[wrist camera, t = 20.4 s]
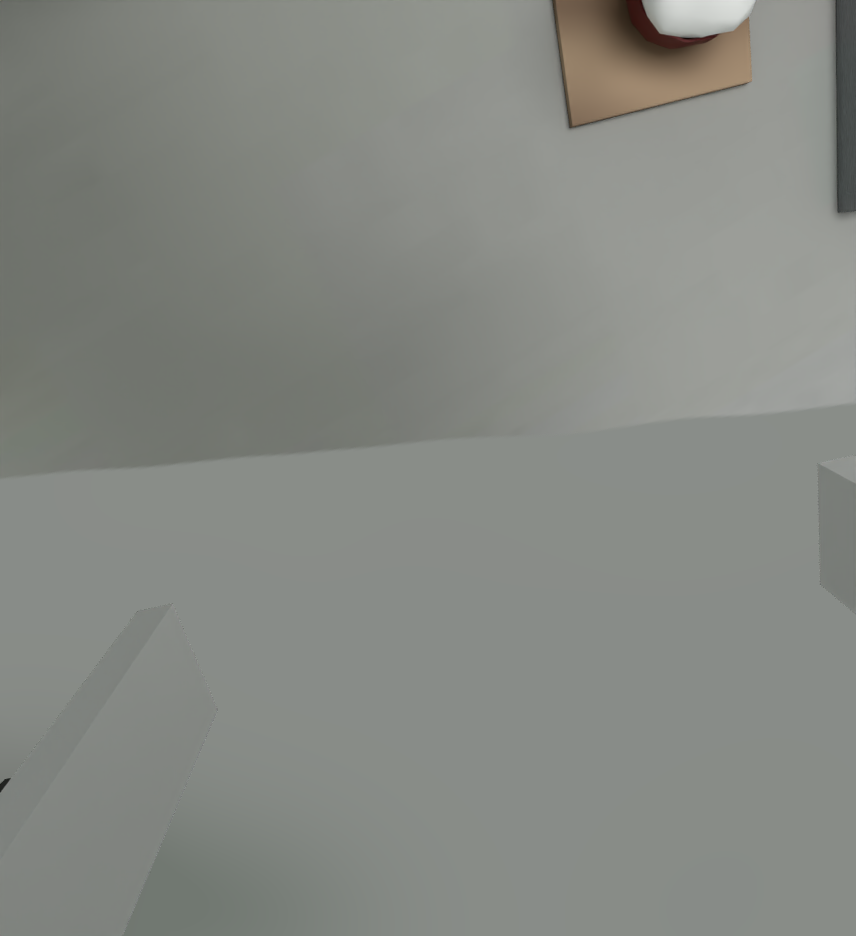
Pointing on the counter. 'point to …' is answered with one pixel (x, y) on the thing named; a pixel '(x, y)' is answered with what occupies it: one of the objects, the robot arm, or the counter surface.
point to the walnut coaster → (637, 62)
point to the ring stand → (846, 103)
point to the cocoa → (686, 19)
